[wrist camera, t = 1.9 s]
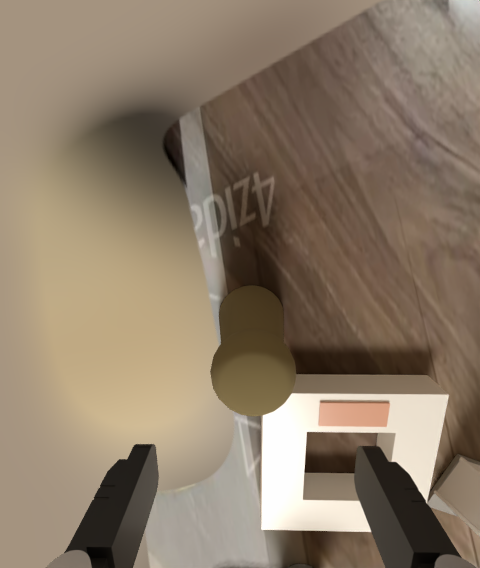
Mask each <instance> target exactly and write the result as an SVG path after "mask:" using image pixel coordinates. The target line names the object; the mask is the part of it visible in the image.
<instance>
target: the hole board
mask: <svg viewBox="0 0 480 568" xmlns="http://www.w3.org/2000/svg"><path fill="white" fill-rule="evenodd" d="M448 397H449V394H448V393H447V392H446V391H444V390H443V389H442V388H441V387H440V386H439V385H438V384H437V383H436V382H435V381H434V380H433V379H431V378H430V377H429V376H428V375H331V374H296V382H295V385H294V389H293V392H292V394H291V395H290V397H289V398H288V399H287V401H286V402H285V403H284V404H283V405H282V406H281V407H279V408H278V409H277V410H275V411H274V412H271V413H269V414H266V415H263V416H261V473H260V507H261V530H304V531H353V532H371V529H370V527H369V524H368V522H367V519H366V517H365V514H364V511H363V509H362V506H361V504H360V501H359V499H358V496H357V493H356V489H355V483H354V474H355V473H304V469H305V452H306V435H307V432H370V433H378V435H377V443H376V446H379V447H380V448H381V449H382V451H383V453H384V454H385V456H386V458H387V460H388V461H389V462H397V463H398V464H399V465H400V466H401V467H402V468H403V469H404V470H405V471H406V472H408V473H409V474H410V476H411V478H412V479H413V481H414V482H415V484H416V486H417V487H418V490H419V492H421V494H422V495H423V497H424V499H425V500H426V503H427V500H428V495H429V490H430V486H431V481H432V476H433V471H434V466H435V461H436V456H437V451H438V446H439V441H440V436H441V431H442V426H443V421H444V416H445V411H446V407H447V402H448Z"/></svg>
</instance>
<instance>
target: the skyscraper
mask: <svg viewBox="0 0 480 568" xmlns="http://www.w3.org/2000/svg"><path fill="white" fill-rule="evenodd" d="M427 504H428V505H429V507H431V508H434V509H437V510H440V511H443V512H446V513H449V514H452V515H455V516H458V517H460V518H461V519H462V520H463V521H464V522H465V523H466V524H467V525H468V526H469V527H470V528H471V529H472V530H473V531H474V532H475V533H476V534H477V535H478V536H479V537H480V462H479V461H476V460H474V459H471V458H468V457H465V456H462V455H459V454H457V455H456V456H455V458H454V459H453V461H452V462H451V463H450V465H449V466H448V468H447V469H446V470H445V472H444V473H443V475H442V476H441V477H440V479H439V480H438V482H437V483H436V484H435V486H434V487H433V489H432V490H431V491H430V493H429V495H428V500H427Z"/></svg>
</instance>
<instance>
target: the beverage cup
mask: <svg viewBox="0 0 480 568" xmlns="http://www.w3.org/2000/svg"><path fill="white" fill-rule="evenodd" d="M288 568H313V567H311V566H309V565H306V564H295V565H292V566H290V567H288Z"/></svg>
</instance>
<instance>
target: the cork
mask: <svg viewBox="0 0 480 568" xmlns="http://www.w3.org/2000/svg"><path fill="white" fill-rule="evenodd" d="M219 323H220V335H221V345H220V346H219V348H218V350H217V351H216V353H215V355H214V357H213V362H212V367H211V371H210V372H211V378H212V384H213V389H214V391H215V392H216V394H217V396H218V398H219V399H220V400H221V401H222V402H223V403H224V404H225V405H226V406H227V407H228V408H229V409H231V410H233V411H235V412H237V413H239V414H241V415H247V416H263V415H266V414H269V413H271V412H274V411H275V410H277V409H278V408H279V407H281V406H282V405H283V404H284V403H285V402H286V401H287V399H288V398H289V397H290V395H291V394H292V392H293V389H294V385H295V382H296V365H295V361H294V359H293V356H292V354H291V352H290V350H289V348H288V347H287V346H286V345H285V344H284V313H283V307H282V305H281V303H280V300H279V299H278V298H277V297H276V296H275V295H274V294H273V292H271V291H269V290H267V289H266V288H264V287H260V286H255V285H250V286H242V287H240V288H238V289H235V290H233V291H232V292H231V293H230V294H228V295H227V296H226V297H225V299H224V301H223V302H222V304H221V306H220V312H219Z"/></svg>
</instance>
